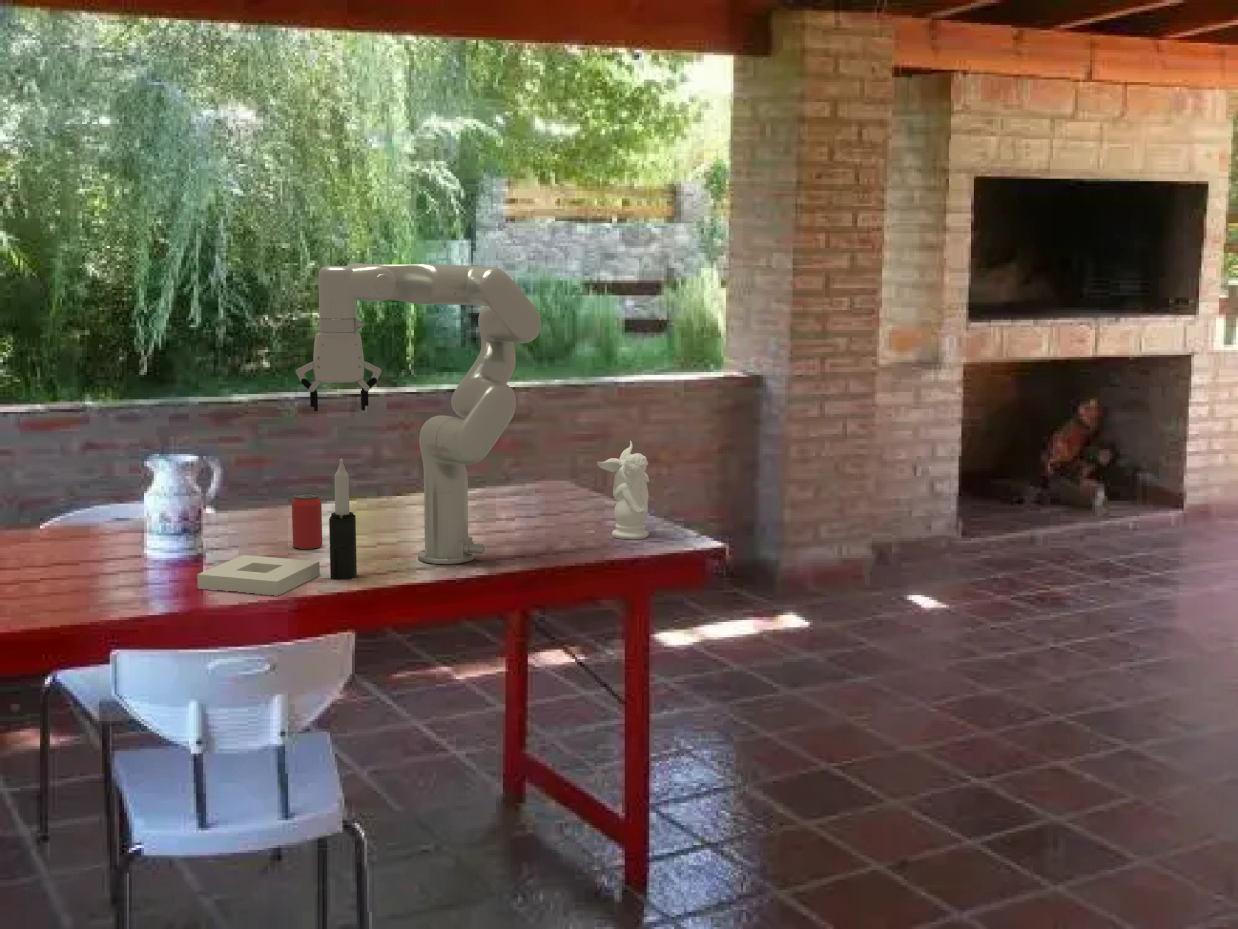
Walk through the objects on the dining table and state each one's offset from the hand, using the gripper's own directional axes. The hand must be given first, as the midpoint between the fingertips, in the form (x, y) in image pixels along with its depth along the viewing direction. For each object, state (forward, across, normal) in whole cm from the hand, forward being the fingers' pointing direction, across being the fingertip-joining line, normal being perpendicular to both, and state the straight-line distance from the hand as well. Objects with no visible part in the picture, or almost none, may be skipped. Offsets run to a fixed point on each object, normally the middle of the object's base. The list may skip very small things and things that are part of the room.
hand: (339, 410), depth 322 cm
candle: (+35, 0, 0) cm, 35 cm away
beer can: (+35, +6, -29) cm, 46 cm away
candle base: (+35, +17, +2) cm, 39 cm away
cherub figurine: (+35, -67, -28) cm, 80 cm away
